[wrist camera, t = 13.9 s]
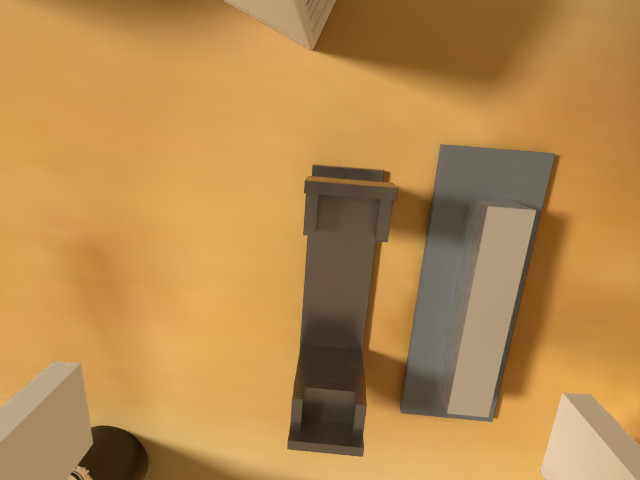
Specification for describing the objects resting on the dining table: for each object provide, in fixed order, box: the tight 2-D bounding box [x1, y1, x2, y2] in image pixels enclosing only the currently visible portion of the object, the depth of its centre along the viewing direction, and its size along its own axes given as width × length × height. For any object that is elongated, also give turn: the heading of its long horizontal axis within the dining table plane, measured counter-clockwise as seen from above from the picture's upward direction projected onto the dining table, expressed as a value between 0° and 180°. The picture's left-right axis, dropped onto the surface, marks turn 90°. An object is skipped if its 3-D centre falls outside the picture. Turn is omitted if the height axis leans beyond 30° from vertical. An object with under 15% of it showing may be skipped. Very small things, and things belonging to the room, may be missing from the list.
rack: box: [287, 165, 398, 457], centre depth 32 cm, size 21×6×10 cm, turn 176°
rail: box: [435, 196, 536, 417], centre depth 33 cm, size 18×4×4 cm, turn 176°
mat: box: [400, 144, 555, 422], centre depth 36 cm, size 26×9×1 cm, turn 176°
